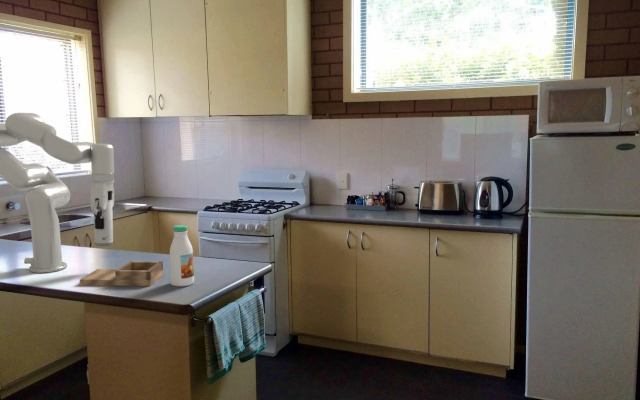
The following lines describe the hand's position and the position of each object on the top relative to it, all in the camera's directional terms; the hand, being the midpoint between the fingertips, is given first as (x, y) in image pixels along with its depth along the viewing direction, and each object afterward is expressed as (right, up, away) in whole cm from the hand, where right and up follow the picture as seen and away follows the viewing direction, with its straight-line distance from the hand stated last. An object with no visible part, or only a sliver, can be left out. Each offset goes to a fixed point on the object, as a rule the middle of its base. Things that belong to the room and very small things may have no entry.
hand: (103, 226), depth 199 cm
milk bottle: (+32, -19, -14) cm, 40 cm away
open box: (+10, -18, -10) cm, 23 cm away
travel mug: (0, -7, +1) cm, 7 cm away
